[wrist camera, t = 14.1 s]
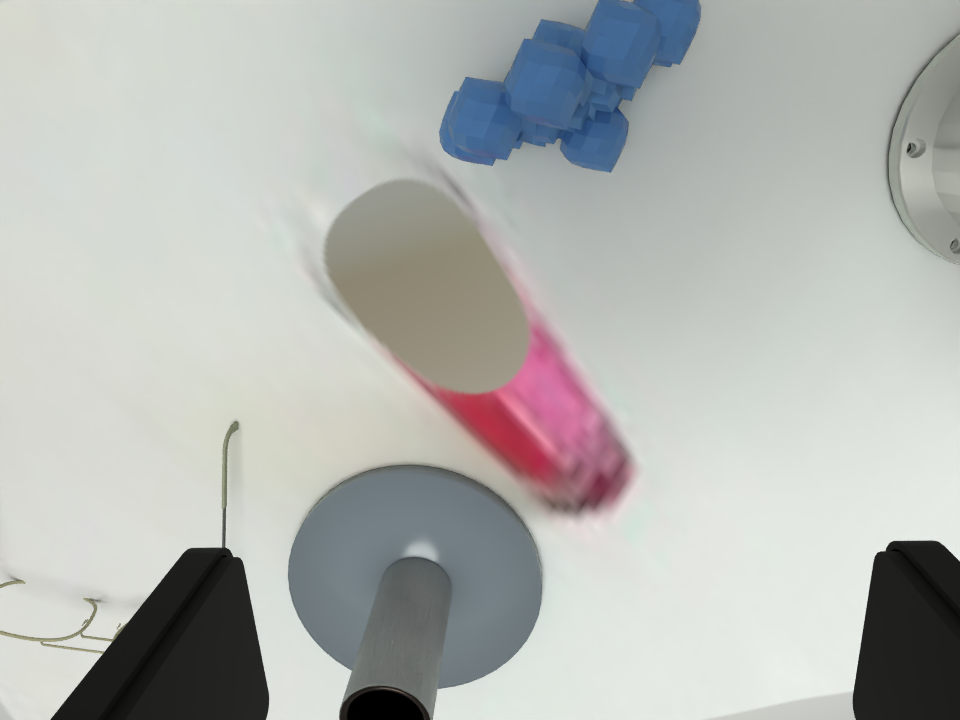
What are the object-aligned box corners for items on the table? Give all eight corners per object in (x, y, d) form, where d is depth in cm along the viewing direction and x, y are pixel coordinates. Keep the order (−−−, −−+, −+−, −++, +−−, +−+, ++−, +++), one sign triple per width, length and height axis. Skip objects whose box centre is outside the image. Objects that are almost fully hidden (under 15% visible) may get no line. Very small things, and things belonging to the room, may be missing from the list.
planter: (406, 627, 44) (372, 770, 34) (366, 575, 43) (320, 708, 33) (466, 598, 43) (449, 738, 33) (426, 544, 42) (397, 672, 32)
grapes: (495, 218, 36) (481, 260, 25) (433, 97, 34) (388, 84, 23) (703, 108, 34) (793, 100, 23) (648, -27, 32) (715, -110, 21)
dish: (537, 462, 41) (538, 472, 40) (544, 676, 46) (545, 690, 45) (277, 467, 42) (269, 477, 41) (311, 675, 47) (306, 688, 46)
